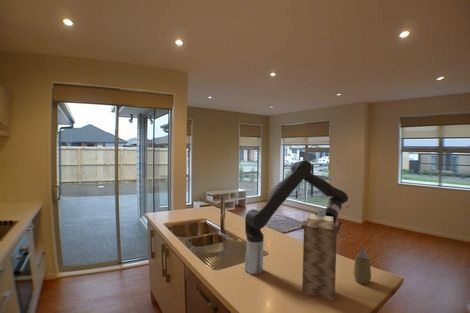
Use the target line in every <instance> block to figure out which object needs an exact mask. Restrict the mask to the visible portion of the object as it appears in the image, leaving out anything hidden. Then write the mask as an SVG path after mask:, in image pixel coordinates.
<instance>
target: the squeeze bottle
mask: <svg viewBox="0 0 470 313" xmlns="http://www.w3.org/2000/svg"><path fill="white" fill-rule="evenodd" d="M359 251H360V252H359ZM359 251H358V252H357V256H355V260H354V261H355V262H354V268H353V276H354V279H355V282H357V283H359V284H361V285H368V284H370V281H371V279H372V271H371V269H372V268H371V260H370V258H369V254H368V253H367V252H366V249H365V246H361V248H360V250H359Z"/></svg>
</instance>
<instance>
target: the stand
mask: <svg viewBox="0 0 470 313" xmlns="http://www.w3.org/2000/svg"><path fill="white" fill-rule="evenodd" d="M301 230H303V242H302V243H303V247H302V248H303V251H302V287H301V288H302V291H301V293H302V294H303V295H307V296H312V297H315V298H319V299H324V300H328V301H332V302H336V301H335V299H336V275H337V274H336V273H337V272H336V267H337V238H338V237H337V235H338V234H339V235H340V229H339V225H338V224H333V229H327V228H319V227H311V226H307V220H304V219H303V221H302V224H301Z"/></svg>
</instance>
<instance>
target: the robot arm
mask: <svg viewBox="0 0 470 313" xmlns="http://www.w3.org/2000/svg"><path fill="white" fill-rule="evenodd" d="M291 170H292V171H291V172H292V173H291V174H289V175H288V176H286V177H285V178H284V179H282V180H281V181H279V182H278V183H277V184H276V185H275V186H274V187H273V188H272V189H271V191H270V193H269V196H268V199H267V202H266V203H265V205H264V206H263V207H262V208H261V209H260V210H257V209H254V208H252V209H249V210H248V211H247V213H246V214H245V219H244V220H245V222H244V223H245V224H244V225H245V228H244V231H245V235H246V252H245V255H244V272H246V273H249V274H251V275H260V274H263V272H264V234H263V232H262V230H261V229H263V228H264V227H265V226H267V224H268V223H269V221H270V220H271V218H272V217H273V215H274V214H275V212H276V211H277V210H278V209H279V208H280V206H282V204H283V203H284V202H285V201H286V200H287V199H288V198H289V196H291V194H292V193H293V192H294V191H295V189H296V188H297V187H298V186H299V185H300V184H301V183H302V181H305V182H306V183H309V184H310V185H311V186H313V187H314V188H316V189H317V190H318V191H320V193H322V194H324V195H325V196H326V197H329V202H328V205H327V206H326V208H325V209H324V211H326V216H330V217H333V224H338V225H339V230H340V229H341V226H342V222H341V221H337V220H338V217H339V215H340V212H341V209H342V207H343V206H342V205H343V204H345V203H347V202H348V201H349V196H348V194H347V193H346V192H345V191H343V190H342V189H339V188H337V187H334V186H333V185H331V183H329V182H328V181H326V180H325V179H323V178H321V177H319V176H316V175H315V174H313V173H312V171H313V165H312V163H311V162H310V161H308V160H303V159H302V160H300V161H297V162H294V163H293V164H292V167H291ZM317 213H318V212H316V213H315V214H314V215H317Z"/></svg>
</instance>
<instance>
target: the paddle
mask: <svg viewBox="0 0 470 313" xmlns="http://www.w3.org/2000/svg"><path fill="white" fill-rule="evenodd" d="M316 213H317V215H315V214H311V213H309V214H308V216H307V218H306V219H307V220H306V221H307V226H311V227H319V228H327V229H333V217H330V216H326V211H325V210H321V209H319V210H317V212H316Z"/></svg>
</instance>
